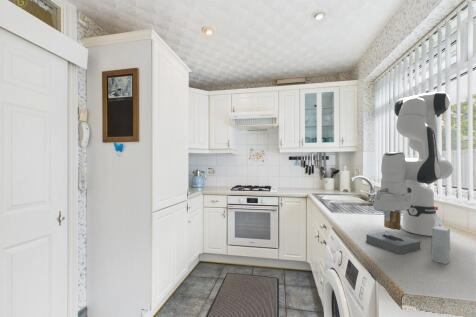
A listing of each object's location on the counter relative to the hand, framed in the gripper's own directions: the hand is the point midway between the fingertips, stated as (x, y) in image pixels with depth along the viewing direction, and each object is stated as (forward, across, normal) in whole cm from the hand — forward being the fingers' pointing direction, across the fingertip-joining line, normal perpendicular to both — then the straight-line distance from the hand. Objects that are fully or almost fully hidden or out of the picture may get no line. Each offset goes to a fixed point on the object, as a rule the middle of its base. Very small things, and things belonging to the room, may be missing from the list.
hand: (392, 220), depth 95 cm
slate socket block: (+11, 0, 0) cm, 11 cm away
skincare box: (+11, +2, -16) cm, 20 cm away
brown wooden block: (+3, 0, 0) cm, 3 cm away
